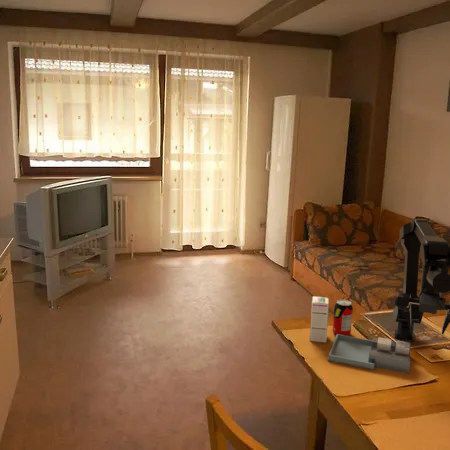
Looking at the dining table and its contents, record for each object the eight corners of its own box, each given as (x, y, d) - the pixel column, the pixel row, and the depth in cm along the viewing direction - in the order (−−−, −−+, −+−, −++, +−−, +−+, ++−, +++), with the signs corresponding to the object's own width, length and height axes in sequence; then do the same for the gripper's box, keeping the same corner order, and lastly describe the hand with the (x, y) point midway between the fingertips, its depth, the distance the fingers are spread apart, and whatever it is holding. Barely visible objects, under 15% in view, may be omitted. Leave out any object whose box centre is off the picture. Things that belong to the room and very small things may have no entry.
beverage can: (347, 329, 174) (350, 298, 171) (352, 337, 168) (355, 306, 165) (330, 329, 174) (332, 298, 171) (334, 337, 168) (337, 305, 165)
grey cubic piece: (395, 351, 154) (396, 340, 153) (408, 354, 152) (409, 342, 151) (394, 357, 150) (395, 346, 149) (408, 360, 149) (409, 348, 148)
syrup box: (326, 343, 164) (329, 303, 160) (309, 341, 165) (311, 301, 161) (326, 335, 169) (329, 297, 166) (309, 333, 170) (312, 295, 167)
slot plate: (371, 348, 161) (372, 337, 160) (409, 355, 156) (410, 344, 156) (367, 365, 150) (369, 354, 149) (408, 374, 146) (410, 362, 145)
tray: (336, 339, 167) (336, 333, 166) (378, 347, 162) (378, 341, 161) (328, 360, 152) (328, 355, 152) (373, 370, 147) (374, 364, 147)
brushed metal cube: (377, 348, 156) (378, 337, 155) (390, 350, 154) (391, 339, 153) (376, 354, 152) (377, 342, 151) (389, 356, 151) (390, 345, 150)
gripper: (395, 284, 139) (390, 334, 142) (467, 295, 131) (460, 347, 134) (399, 274, 149) (394, 321, 152) (466, 283, 141) (459, 333, 144)
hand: (425, 330), depth 145 cm, fingers open, 9 cm apart
